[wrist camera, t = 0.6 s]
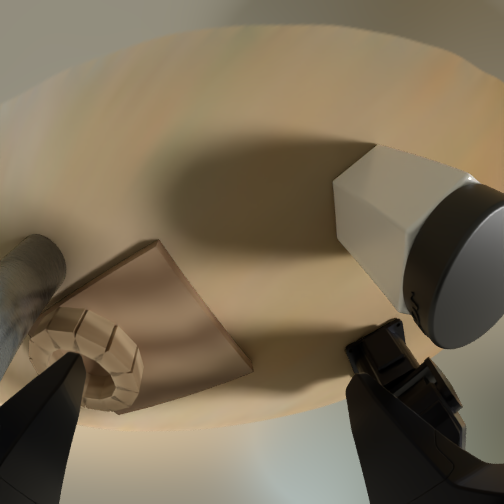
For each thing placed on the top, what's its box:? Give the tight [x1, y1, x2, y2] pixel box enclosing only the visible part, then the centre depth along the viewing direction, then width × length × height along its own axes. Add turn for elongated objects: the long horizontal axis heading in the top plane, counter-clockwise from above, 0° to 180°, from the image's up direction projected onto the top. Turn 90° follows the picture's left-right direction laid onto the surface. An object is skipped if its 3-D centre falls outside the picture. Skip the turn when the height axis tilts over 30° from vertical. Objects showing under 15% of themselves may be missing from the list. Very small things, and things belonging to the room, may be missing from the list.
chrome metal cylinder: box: [0, 234, 66, 381], centre depth 14 cm, size 5×5×13 cm
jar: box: [333, 144, 504, 349], centre depth 15 cm, size 9×8×12 cm
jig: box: [28, 240, 253, 415], centre depth 22 cm, size 15×18×4 cm
